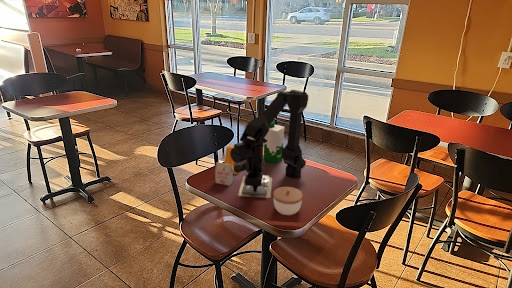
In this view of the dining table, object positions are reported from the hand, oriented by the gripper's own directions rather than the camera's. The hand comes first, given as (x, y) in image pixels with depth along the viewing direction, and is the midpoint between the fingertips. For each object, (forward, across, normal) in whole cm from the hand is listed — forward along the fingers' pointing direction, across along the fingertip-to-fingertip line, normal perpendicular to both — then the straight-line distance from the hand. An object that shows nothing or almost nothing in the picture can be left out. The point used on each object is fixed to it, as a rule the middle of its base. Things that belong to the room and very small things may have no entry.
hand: (254, 190), depth 131 cm
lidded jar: (+3, +10, +13) cm, 17 cm away
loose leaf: (+1, -2, 0) cm, 3 cm away
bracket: (+3, -22, -11) cm, 25 cm away
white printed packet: (+3, -8, -14) cm, 16 cm away
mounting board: (+3, -6, 0) cm, 7 cm away
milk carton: (+3, -34, +6) cm, 35 cm away
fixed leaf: (+2, -10, 0) cm, 10 cm away
